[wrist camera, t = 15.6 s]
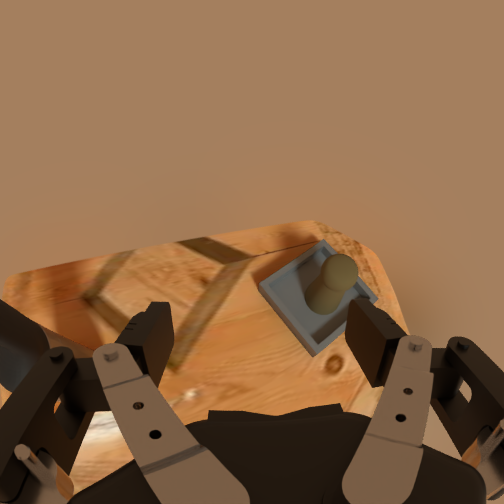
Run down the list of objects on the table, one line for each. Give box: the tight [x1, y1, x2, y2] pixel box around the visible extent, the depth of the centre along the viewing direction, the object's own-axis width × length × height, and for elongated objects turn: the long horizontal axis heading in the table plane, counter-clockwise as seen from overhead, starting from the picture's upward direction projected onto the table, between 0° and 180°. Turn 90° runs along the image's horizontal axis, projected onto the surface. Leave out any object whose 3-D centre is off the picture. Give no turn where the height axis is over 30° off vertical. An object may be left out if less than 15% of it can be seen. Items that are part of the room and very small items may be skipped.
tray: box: [258, 239, 378, 357], centre depth 43 cm, size 14×14×3 cm
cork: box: [305, 254, 358, 315], centre depth 39 cm, size 6×6×11 cm
